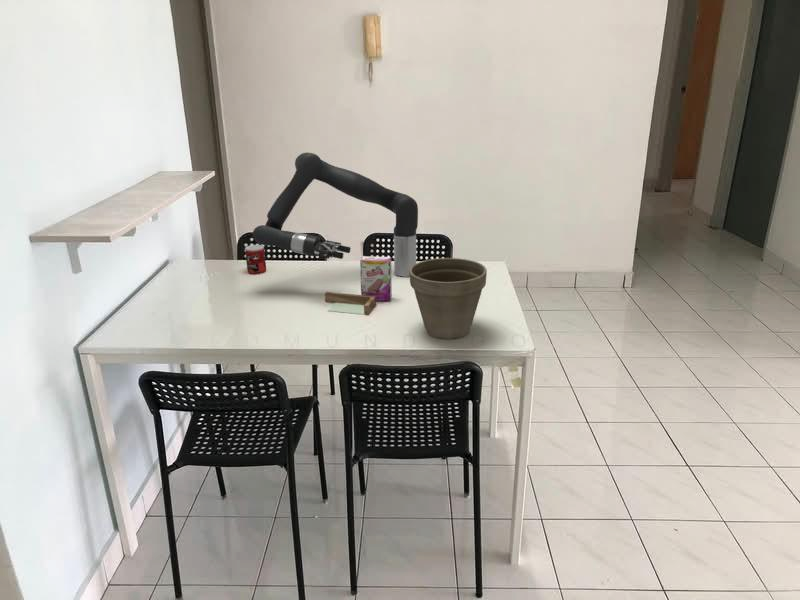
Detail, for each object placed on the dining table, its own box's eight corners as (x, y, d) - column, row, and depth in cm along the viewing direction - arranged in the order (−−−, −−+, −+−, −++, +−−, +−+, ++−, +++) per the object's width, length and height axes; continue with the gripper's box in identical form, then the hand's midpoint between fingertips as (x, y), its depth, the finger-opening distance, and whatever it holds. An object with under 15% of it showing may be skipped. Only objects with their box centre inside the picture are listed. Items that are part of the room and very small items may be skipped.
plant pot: (394, 332, 200) (393, 270, 192) (439, 309, 217) (440, 252, 209) (455, 353, 185) (456, 287, 177) (498, 328, 202) (501, 266, 194)
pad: (335, 302, 225) (335, 302, 225) (371, 306, 221) (371, 305, 221) (327, 311, 218) (327, 310, 218) (364, 314, 214) (364, 314, 214)
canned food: (243, 272, 259) (241, 248, 254) (257, 267, 265) (255, 243, 261) (256, 275, 254) (253, 251, 250) (270, 270, 261) (267, 246, 256)
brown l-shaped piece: (326, 300, 227) (326, 291, 226) (376, 305, 222) (375, 296, 221) (317, 310, 219) (316, 301, 217) (368, 315, 214) (367, 305, 213)
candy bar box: (361, 301, 226) (359, 259, 220) (363, 296, 230) (361, 255, 224) (390, 302, 225) (389, 260, 219) (392, 297, 229) (391, 256, 223)
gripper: (299, 239, 218) (341, 248, 215) (313, 230, 231) (353, 239, 229) (297, 258, 221) (339, 267, 218) (311, 249, 234) (351, 257, 231)
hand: (346, 253), depth 223 cm, fingers open, 8 cm apart
